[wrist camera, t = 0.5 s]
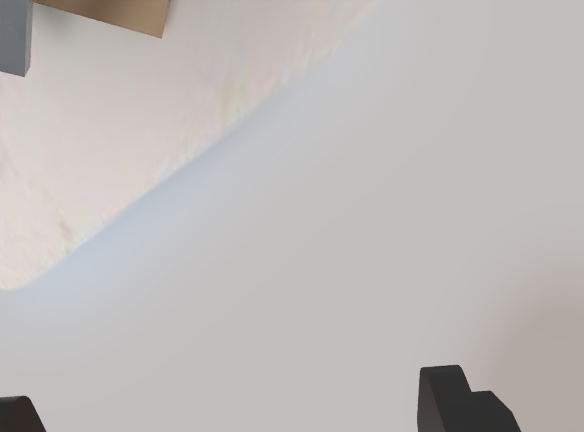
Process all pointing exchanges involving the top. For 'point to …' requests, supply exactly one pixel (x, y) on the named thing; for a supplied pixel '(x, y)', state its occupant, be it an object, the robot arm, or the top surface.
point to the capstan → (15, 36)
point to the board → (119, 12)
